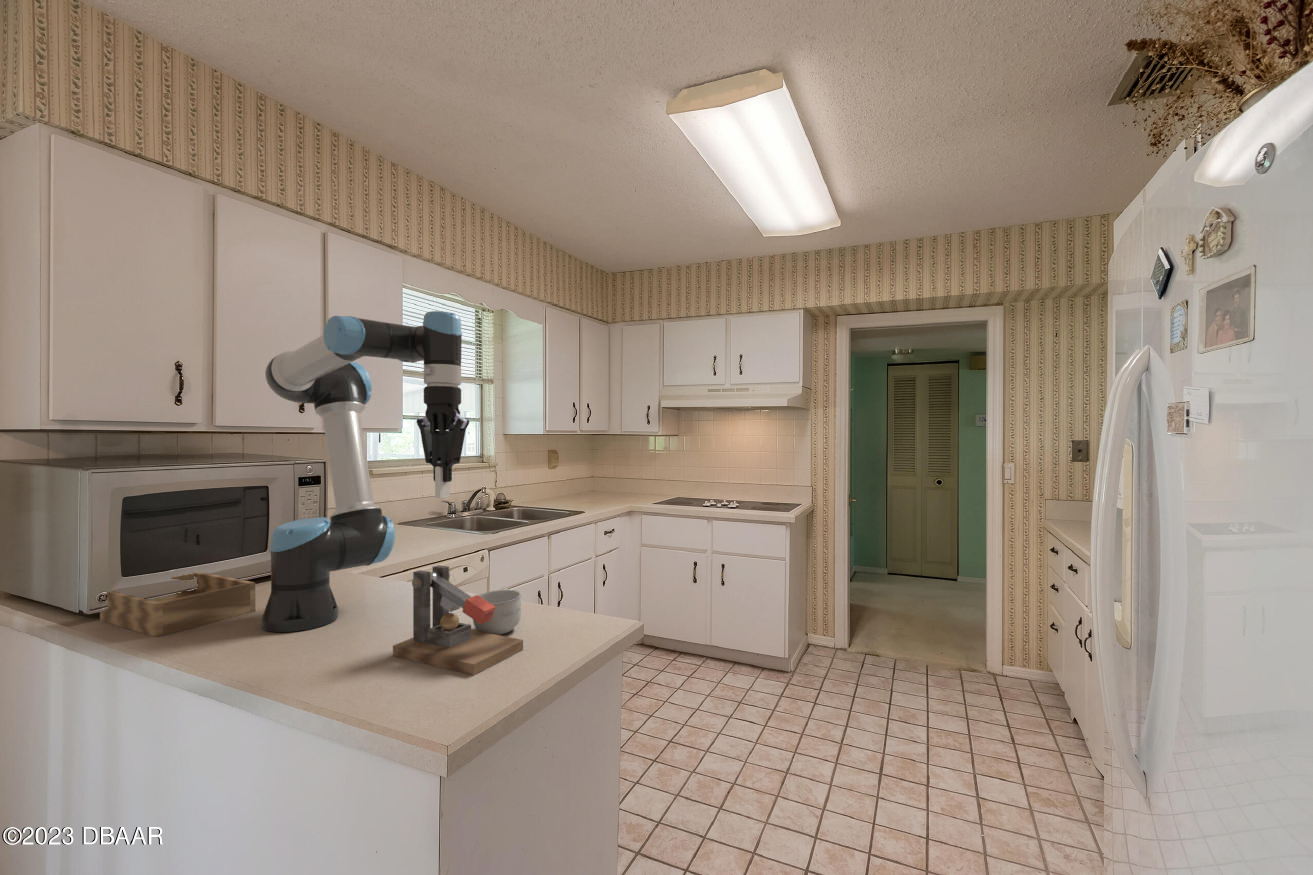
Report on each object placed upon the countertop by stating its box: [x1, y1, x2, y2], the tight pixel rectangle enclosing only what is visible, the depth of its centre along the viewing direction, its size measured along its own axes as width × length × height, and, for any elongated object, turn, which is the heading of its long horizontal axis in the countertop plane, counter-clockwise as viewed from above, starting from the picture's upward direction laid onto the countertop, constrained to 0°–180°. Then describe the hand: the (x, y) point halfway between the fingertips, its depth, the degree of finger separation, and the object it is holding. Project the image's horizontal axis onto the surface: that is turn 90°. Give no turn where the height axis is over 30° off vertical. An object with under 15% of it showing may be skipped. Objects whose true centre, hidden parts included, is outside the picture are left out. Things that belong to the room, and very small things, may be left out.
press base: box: [392, 564, 524, 676], centre depth 119 cm, size 21×14×16 cm, turn 64°
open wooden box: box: [99, 571, 256, 638], centre depth 142 cm, size 24×20×7 cm
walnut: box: [440, 612, 460, 631], centre depth 120 cm, size 4×4×4 cm
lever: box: [430, 571, 496, 624], centre depth 119 cm, size 17×3×5 cm, turn 65°
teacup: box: [472, 587, 522, 636], centre depth 134 cm, size 14×11×8 cm
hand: (442, 497), depth 126 cm, fingers closed
